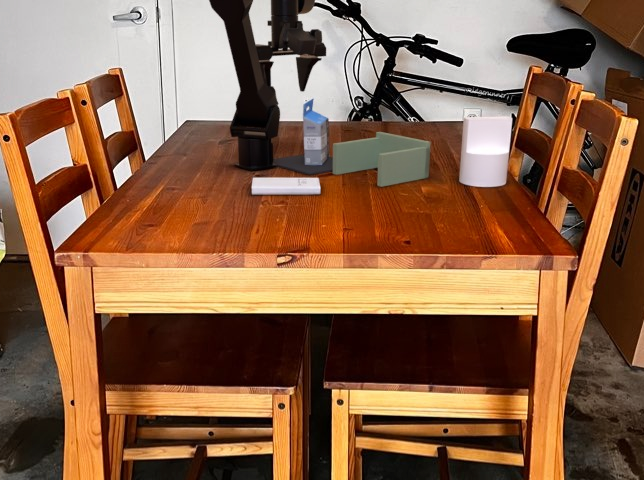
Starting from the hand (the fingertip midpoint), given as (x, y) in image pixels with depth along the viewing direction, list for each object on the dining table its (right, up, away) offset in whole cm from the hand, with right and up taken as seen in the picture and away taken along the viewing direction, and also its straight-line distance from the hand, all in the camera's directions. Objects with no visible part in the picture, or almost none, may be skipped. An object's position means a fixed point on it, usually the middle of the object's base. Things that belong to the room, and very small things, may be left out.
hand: (285, 93), depth 178 cm
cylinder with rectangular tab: (+39, -24, -20) cm, 50 cm away
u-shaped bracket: (+19, -21, -15) cm, 33 cm away
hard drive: (+1, -27, -26) cm, 37 cm away
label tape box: (+7, -16, -5) cm, 18 cm away
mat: (+6, -17, -6) cm, 19 cm away
